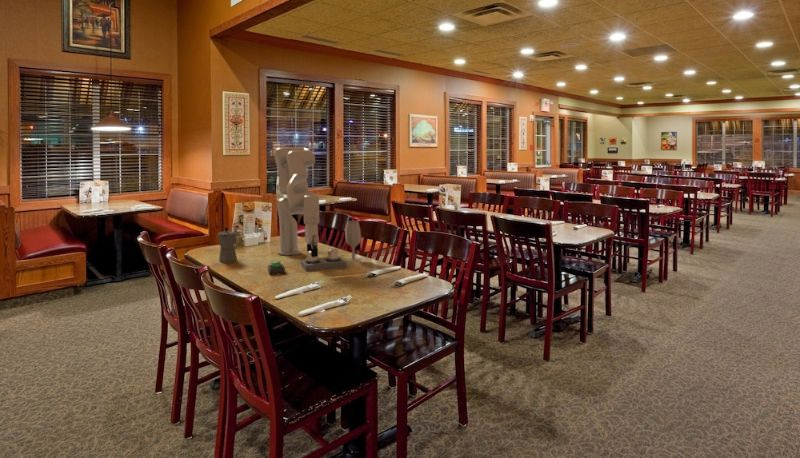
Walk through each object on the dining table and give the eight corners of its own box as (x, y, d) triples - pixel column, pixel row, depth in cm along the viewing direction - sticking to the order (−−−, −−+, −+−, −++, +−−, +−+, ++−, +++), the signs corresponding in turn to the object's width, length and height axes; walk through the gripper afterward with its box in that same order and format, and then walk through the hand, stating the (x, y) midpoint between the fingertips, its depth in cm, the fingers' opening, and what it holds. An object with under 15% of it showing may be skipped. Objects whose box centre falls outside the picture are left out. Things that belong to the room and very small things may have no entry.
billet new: (307, 266, 250) (306, 250, 249) (317, 265, 252) (316, 250, 251) (309, 268, 246) (308, 252, 244) (319, 267, 247) (318, 251, 246)
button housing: (268, 271, 244) (267, 265, 244) (282, 270, 247) (282, 264, 246) (269, 274, 238) (269, 268, 237) (284, 273, 240) (284, 267, 240)
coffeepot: (235, 263, 261) (233, 229, 258) (216, 264, 260) (214, 229, 257) (240, 256, 276) (238, 224, 273) (222, 257, 275) (220, 225, 272)
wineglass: (361, 263, 260) (360, 223, 257) (344, 263, 260) (343, 223, 257) (362, 259, 269) (361, 220, 265) (346, 259, 269) (345, 220, 265)
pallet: (301, 267, 252) (300, 260, 252) (339, 263, 260) (339, 256, 259) (305, 272, 241) (305, 265, 241) (346, 268, 249) (345, 261, 248)
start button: (270, 266, 243) (270, 261, 243) (280, 265, 245) (279, 260, 244) (272, 268, 239) (271, 263, 239) (281, 267, 241) (281, 262, 240)
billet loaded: (327, 264, 254) (326, 249, 252) (336, 263, 255) (336, 248, 254) (329, 266, 249) (329, 251, 248) (339, 266, 251) (338, 250, 250)
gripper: (300, 217, 251) (301, 250, 255) (307, 223, 236) (308, 258, 239) (315, 216, 254) (316, 249, 257) (323, 222, 238) (323, 257, 242)
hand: (312, 254), depth 248 cm, fingers open, 9 cm apart
